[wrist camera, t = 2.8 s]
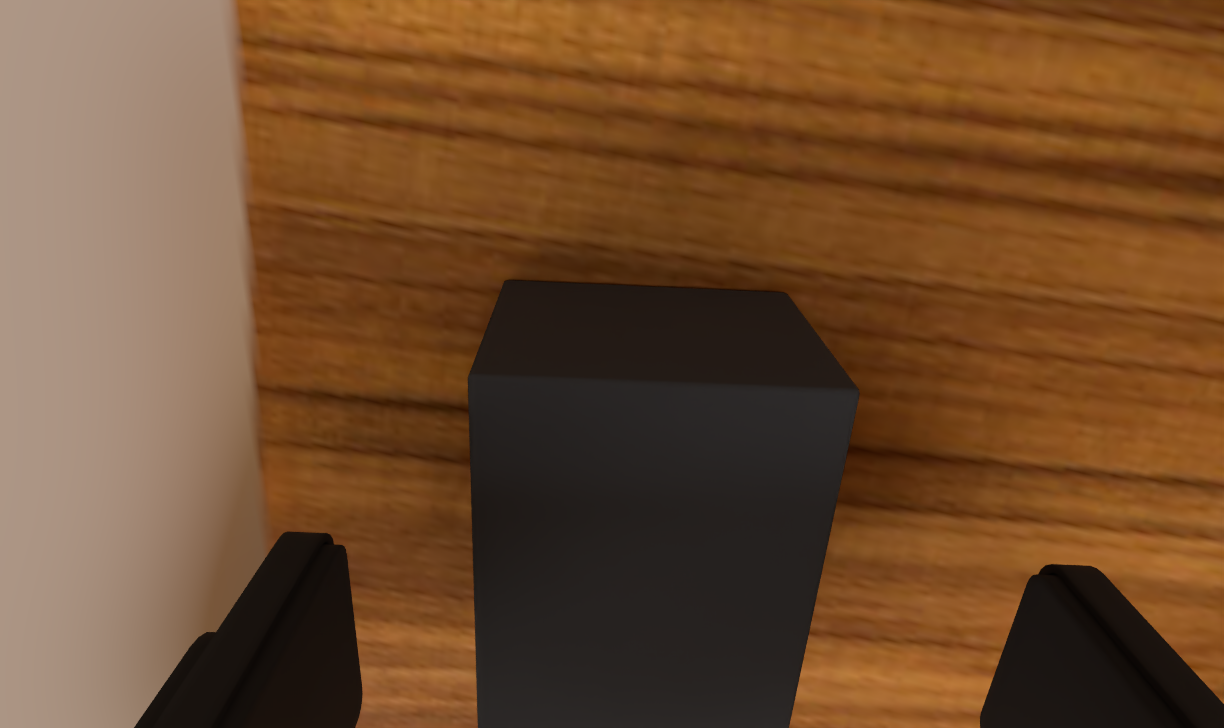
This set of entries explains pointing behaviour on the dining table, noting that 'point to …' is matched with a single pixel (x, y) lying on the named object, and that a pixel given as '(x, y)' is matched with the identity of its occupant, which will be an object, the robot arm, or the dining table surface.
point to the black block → (649, 504)
